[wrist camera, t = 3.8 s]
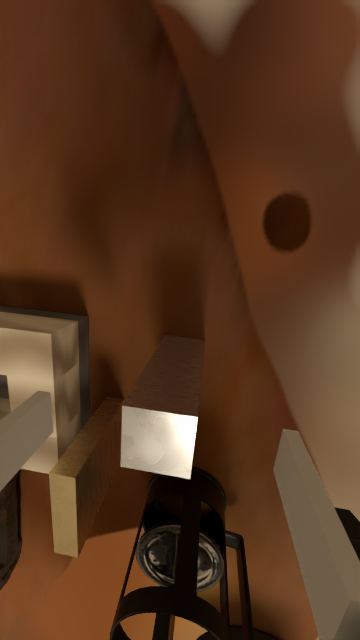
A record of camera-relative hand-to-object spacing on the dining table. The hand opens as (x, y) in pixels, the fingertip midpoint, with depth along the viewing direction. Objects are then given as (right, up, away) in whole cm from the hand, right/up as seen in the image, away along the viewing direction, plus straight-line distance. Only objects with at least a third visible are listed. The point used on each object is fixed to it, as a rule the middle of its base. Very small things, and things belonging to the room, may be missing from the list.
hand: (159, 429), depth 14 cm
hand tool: (-22, -21, +21) cm, 37 cm away
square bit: (+1, +3, +11) cm, 11 cm away
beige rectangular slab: (-6, -6, +14) cm, 17 cm away
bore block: (-16, +1, +14) cm, 21 cm away
